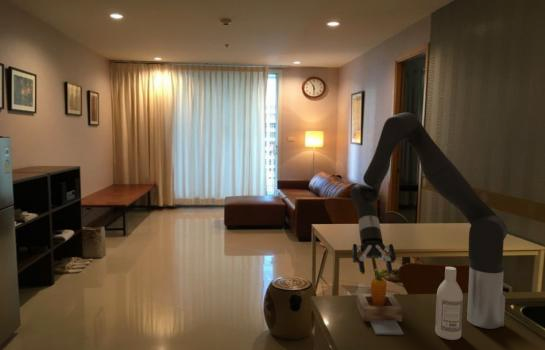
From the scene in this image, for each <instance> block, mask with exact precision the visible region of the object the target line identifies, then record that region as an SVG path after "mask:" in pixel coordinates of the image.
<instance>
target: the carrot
mask: <svg viewBox="0 0 545 350" xmlns="http://www.w3.org/2000/svg"><path fill="white" fill-rule="evenodd" d="M385 271H386V270H385V268H383V269H382V270H381V273H380V272H379V270H378V268H375V269H374V273H375V278H372V280H371V284H370V285H371V293H370V294H372V301H373V305H374V306H383V305H384V301H385V296H386V294H387V280H386V279H384V278H383V277H384V276H386V275H387V272H385Z"/></svg>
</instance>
